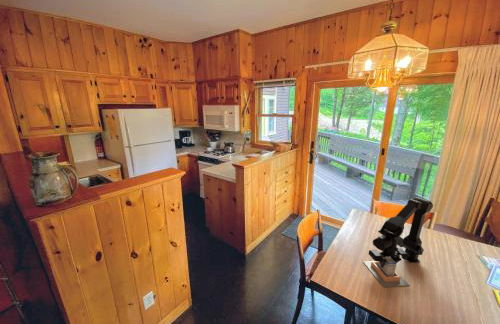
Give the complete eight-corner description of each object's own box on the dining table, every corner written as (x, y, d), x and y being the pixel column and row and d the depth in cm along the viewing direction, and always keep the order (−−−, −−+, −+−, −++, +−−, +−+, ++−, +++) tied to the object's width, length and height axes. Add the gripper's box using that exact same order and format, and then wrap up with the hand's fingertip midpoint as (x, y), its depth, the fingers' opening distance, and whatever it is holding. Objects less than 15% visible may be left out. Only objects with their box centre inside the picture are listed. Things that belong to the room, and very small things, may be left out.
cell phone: (387, 229, 153) (387, 228, 153) (411, 245, 136) (411, 243, 136) (377, 231, 151) (378, 230, 150) (400, 247, 134) (401, 246, 134)
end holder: (385, 260, 123) (386, 256, 122) (409, 285, 106) (410, 281, 105) (362, 261, 122) (363, 257, 121) (383, 287, 105) (384, 283, 104)
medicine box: (376, 265, 117) (378, 252, 115) (384, 264, 117) (386, 252, 115) (386, 276, 109) (388, 263, 107) (394, 275, 110) (397, 262, 107)
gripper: (395, 232, 117) (391, 255, 121) (364, 234, 116) (361, 257, 120) (411, 245, 106) (406, 270, 110) (377, 248, 105) (373, 272, 109)
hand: (385, 267), depth 113 cm, fingers closed on medicine box, 4 cm apart
